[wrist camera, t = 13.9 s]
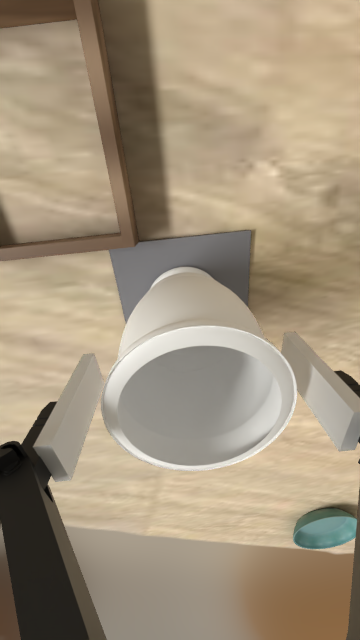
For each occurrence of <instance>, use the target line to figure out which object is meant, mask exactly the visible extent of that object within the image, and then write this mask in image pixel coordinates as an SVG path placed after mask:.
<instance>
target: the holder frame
mask: <svg viewBox="0 0 360 640" xmlns="http://www.w3.org/2000/svg"><path fill="white" fill-rule="evenodd" d="M74 19H77V21H78V26H79V31H80V36H81V41H82V46H83V51H84V56H85V60H86V65H87V70H88V75H89V80H90V85H91V90H92V95H93V100H94V105H95V110H96V115H97V120H98V124H99V129H100V134H101V139H102V144H103V149H104V154H105V159H106V164H107V169H108V174H109V179H110V184H111V189H112V193H113V198H114V203H115V208H116V213H117V218H118V223H119V228H120V233H114V234H105V235H96V236H86V237H77V238H68V239H58V240H49V241H40V242H30V243H21V244H12V245H2V246H0V261H7V260H16V259H25V258H35V257H44V256H54V255H63V254H72V253H82V252H91V251H101V250H110V249H119V248H129V247H135V246H136V245H137V244H138V242H139V238H138V232H137V227H136V221H135V215H134V209H133V203H132V197H131V191H130V186H129V180H128V174H127V168H126V162H125V156H124V150H123V145H122V139H121V133H120V127H119V121H118V115H117V109H116V104H115V98H114V92H113V86H112V80H111V74H110V68H109V63H108V57H107V51H106V45H105V39H104V33H103V27H102V22H101V16H100V10H99V4H98V0H0V28H5V27H14V26H23V25H31V24H40V23H48V22H57V21H65V20H74Z"/></svg>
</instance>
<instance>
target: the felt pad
mask: <svg viewBox="0 0 360 640" xmlns="http://www.w3.org/2000/svg"><path fill="white" fill-rule="evenodd" d="M250 244H251V230H244V231H235V232H226V233H216V234H207V235H198V236H188V237H179V238H169V239H160V240H151V241H141V242H138V244H137V245H136V246H135V247H129V248H119V249H110V250H109V253H110V257H111V261H112V265H113V270H114V274H115V278H116V283H117V287H118V291H119V296H120V300H121V304H122V308H123V313H124V317H125V321H126V324H127V321H128V319H129V317H130V315H131V313H132V312H133V310H134V308H135V307H136V305H137V304H138V303H139V301H140V300H141V299H142V298H143V297H144V296H145V294H146V293H147V292H148V291H149V290H150V288H151V286H152V284H153V283H154V282H155V280H156V279H157V278H158V277H159V276H161V275H162V274H163V273H165V272H167V271H169V270H171V269H174V268H178V267H193V268H197V269H200V270H202V271H204V272H206V273H208V274H209V275H210V276H211V277H212V278H213V279H214V280H216V281H217V282H219V283H220V284H222V285H223V286H225V287H227V288H228V289H230V290H231V291H232V292H233V293H235V294H236V295H237V296H238V297H239V298H240V299H241V300H242V301H243V302H244V303H245V305H246V306H247V307H248V289H249V267H250Z"/></svg>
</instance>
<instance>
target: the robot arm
mask: <svg viewBox="0 0 360 640" xmlns="http://www.w3.org/2000/svg"><path fill="white" fill-rule="evenodd" d="M281 354H282V355H283V356H284V358H285V359H286V360H287V362H288V363H289V365H290V367H291V369H292V371H293V373H294V376H295V379H296V384H297V391H298V392H299V393H300V395H301V396H302V398H303V399H304V401H305V402H306V404H307V405H308V407H309V408H310V410H311V411H312V412H313V414H314V415H315V417H316V418H317V420H318V421H319V423H320V424H321V426H322V427H323V429H324V430H325V431H326V433H327V434H328V436H329V437H330V439H331V440H332V442H333V443H334V445H335V446H336V448H337V449H338V450H339V451H348V450H355V448H356V446H357V443H358V442H359V443H360V385H358V383H357V382H356V381H355V380H354V379H353V378H352V377H351V376H349V375H348V374H346V373H344V372H343V371H333V370H332V369H331V368H330V367H329V366H328V365H327V364H326V363H325V362H324V361H323V360H322V359H321V358H320V357H319V356H318V355H317V354H316V353H315V352H314V351H313V350H312V348H311V347H310V346H309V345H308V344H307V343H306V342H305V341H304V340H303V339H302V338H301V337H300V336H299V335H298V334H297V333H296V332H287V333H284V337H283V344H282V351H281ZM103 386H104V381H103V378H102V375H101V372H100V369H99V366H98V363H97V360H96V357H95V354H94V353H92V354H83V356H82V358H81V359H80V361H79V363H78V365H77V367H76V369H75V370H74V372H73V374H72V376H71V378H70V380H69V381H68V383H67V385H66V387H65V389H64V391H63V392H62V394H61V396H60V398H59V400H58V402H50V403H49V404H48V405H47V406H46V407H45V408H44V409H42V411H41V412H40V414H39V416H38V417H37V420H36V421H35V423H34V424H33V427H32V428H31V429H30V431H29V433H28V434H27V436H26V438H25V439H24V441H23V443H22V444H21V445H20V443H19V442H17V441H11V442H7V443H5V444H3V445H1V446H0V525H1V524H2V530H3V536H4V542H5V548H6V554H7V559H8V566H9V572H10V577H11V583H12V589H13V595H14V601H15V607H16V613H17V618H18V624H19V631H20V636H21V640H106V636H105V634H104V631H103V629H102V626H101V623H100V621H99V618H98V615H97V612H96V610H95V607H94V604H93V602H92V599H91V596H90V594H89V591H88V588H87V586H86V583H85V580H84V578H83V575H82V572H81V570H80V567H79V565H78V562H77V559H76V557H75V554H74V551H73V548H72V546H71V543H70V541H69V538H68V536H67V533H66V530H65V527H64V524H63V522H62V519H61V516H60V514H59V511H58V508H57V506H56V503H55V500H54V498H53V495H52V493H51V490H50V487H49V486H48V482H49V479H50V477H51V476H52V477H53V479H54V480H55V482H59V481H68V480H71V479H72V476H73V473H74V470H75V467H76V464H77V461H78V458H79V455H80V453H81V450H82V447H83V444H84V441H85V438H86V435H87V432H88V429H89V426H90V423H91V421H92V418H93V415H94V412H95V409H96V406H97V403H98V400H99V397H100V394H101V391H102V389H103ZM358 463H359V464H360V459H359V462H358ZM346 640H360V489H359V501H358V514H357V526H356V539H355V551H354V564H353V576H352V589H351V601H350V614H349V626H348V634H347V638H346Z"/></svg>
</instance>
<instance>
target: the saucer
mask: <svg viewBox="0 0 360 640" xmlns="http://www.w3.org/2000/svg"><path fill="white" fill-rule="evenodd" d="M356 526H357V518H355V517H354V516H352V515H351V514H349V513H347V512H345V511H343V510H340V509H336V508H324V509H319V510H315V511H312V512H309V513H307V514H305V515H304V516H302V517H301V518H300V519H299V520H298V521H297V523H296V526H295V529H294V534H293V541H294V543H295V544H296V545H298V546H299V547H302V548H307V549H325V548H331V547H335V546H338V545H342V544H344V543H346V542H349V541H351V540H352V539H354V538H355V537H356Z"/></svg>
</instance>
